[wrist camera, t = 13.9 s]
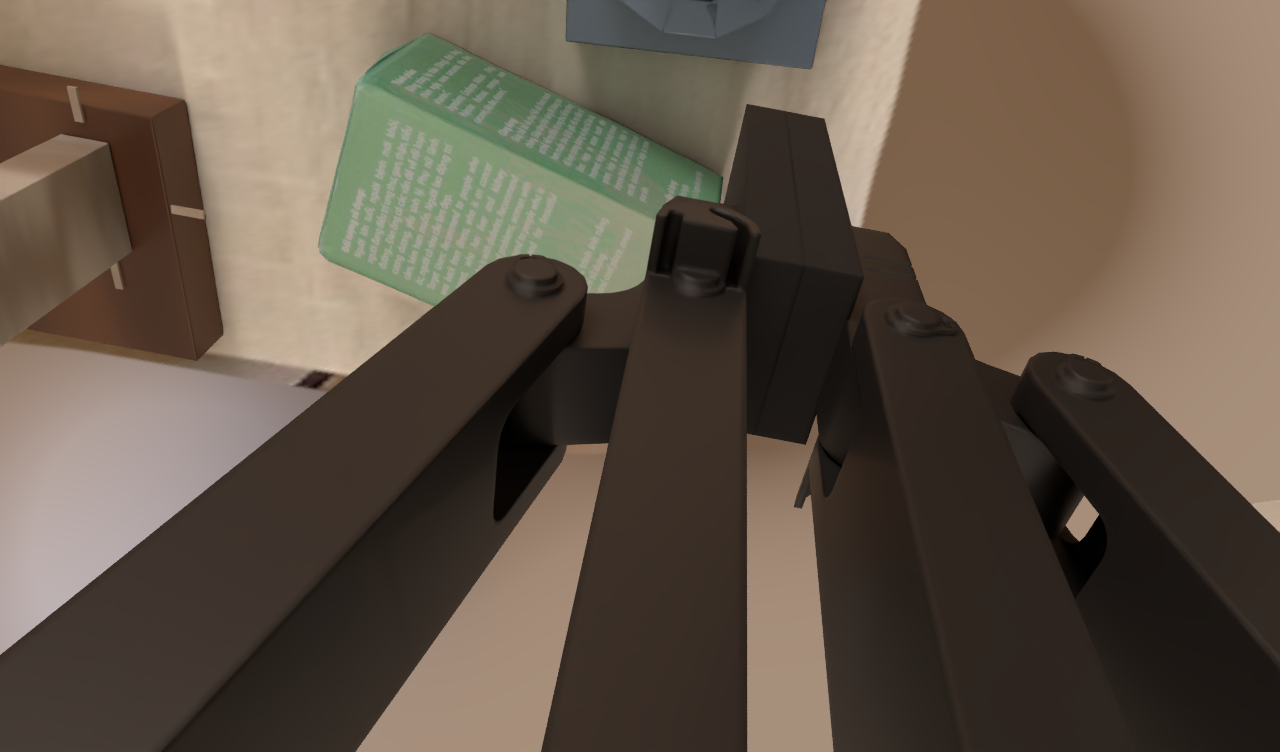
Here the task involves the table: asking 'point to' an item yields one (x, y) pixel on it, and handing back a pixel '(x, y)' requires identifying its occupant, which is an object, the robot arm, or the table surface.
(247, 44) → the table surface
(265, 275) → the table surface
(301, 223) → the table surface
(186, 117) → the dial panel
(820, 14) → the button box
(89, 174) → the red-tipped grey block
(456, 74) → the box
